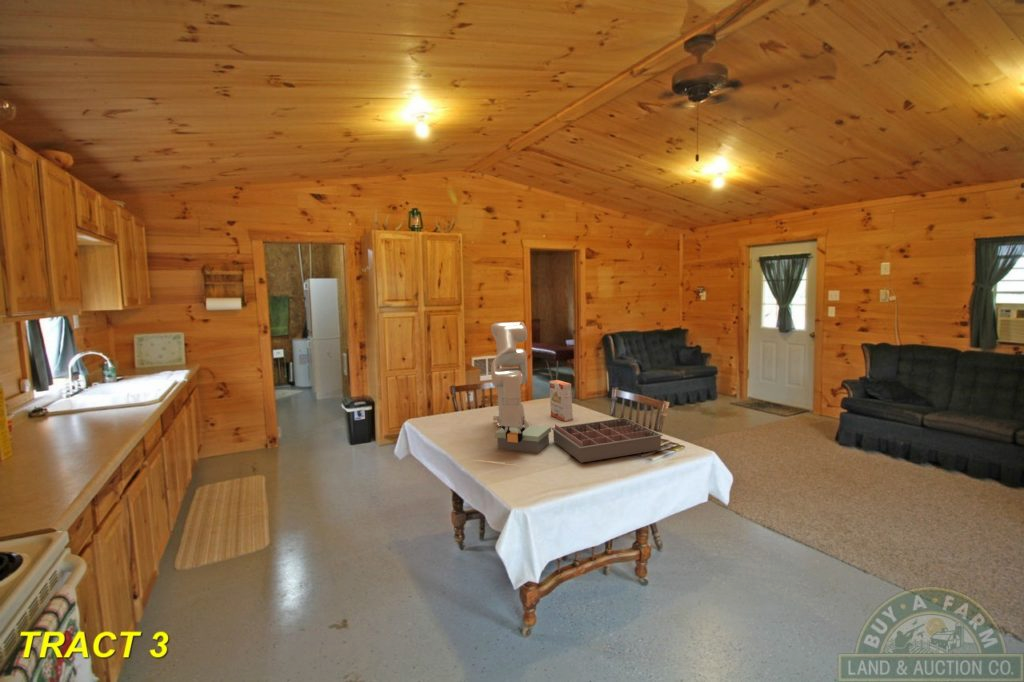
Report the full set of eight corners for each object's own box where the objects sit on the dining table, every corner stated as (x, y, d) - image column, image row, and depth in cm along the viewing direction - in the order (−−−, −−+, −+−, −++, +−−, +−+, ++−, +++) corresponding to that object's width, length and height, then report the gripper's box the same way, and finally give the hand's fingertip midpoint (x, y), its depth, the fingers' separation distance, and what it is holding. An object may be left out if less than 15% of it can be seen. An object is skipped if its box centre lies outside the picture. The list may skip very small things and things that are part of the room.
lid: (490, 439, 227) (490, 432, 227) (509, 427, 245) (509, 420, 244) (535, 444, 218) (534, 436, 217) (551, 431, 236) (550, 424, 235)
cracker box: (550, 416, 286) (548, 380, 284) (559, 414, 289) (557, 379, 287) (563, 421, 274) (562, 384, 272) (573, 420, 277) (571, 383, 274)
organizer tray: (663, 452, 219) (663, 430, 218) (580, 466, 207) (579, 443, 206) (625, 433, 250) (625, 413, 248) (551, 444, 238) (550, 423, 237)
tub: (498, 450, 232) (497, 433, 231) (510, 441, 244) (510, 425, 243) (538, 454, 223) (537, 437, 222) (549, 445, 236) (548, 428, 235)
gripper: (491, 402, 222) (493, 441, 224) (526, 404, 215) (528, 445, 217) (499, 398, 229) (501, 436, 231) (533, 400, 222) (535, 439, 224)
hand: (514, 440), depth 224 cm, fingers closed on lid, 4 cm apart
